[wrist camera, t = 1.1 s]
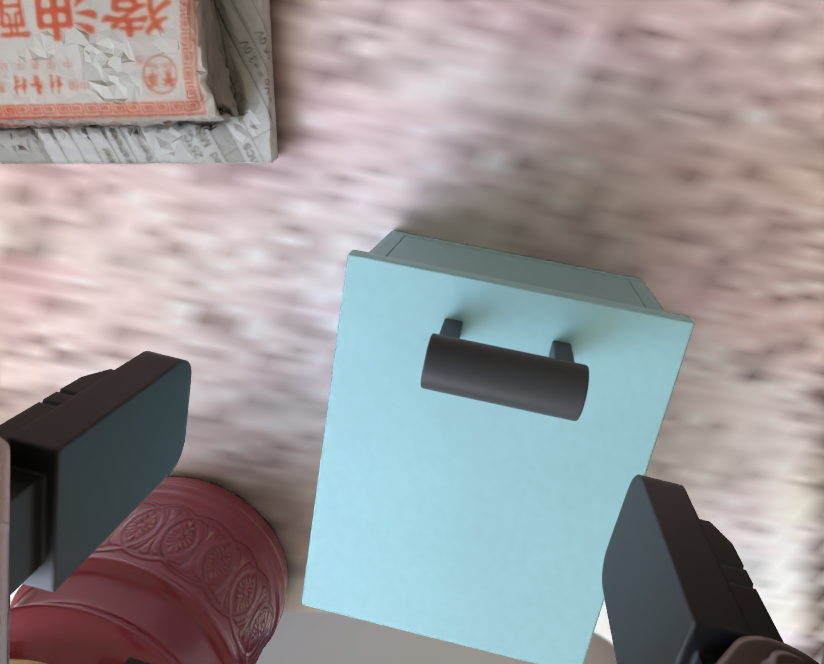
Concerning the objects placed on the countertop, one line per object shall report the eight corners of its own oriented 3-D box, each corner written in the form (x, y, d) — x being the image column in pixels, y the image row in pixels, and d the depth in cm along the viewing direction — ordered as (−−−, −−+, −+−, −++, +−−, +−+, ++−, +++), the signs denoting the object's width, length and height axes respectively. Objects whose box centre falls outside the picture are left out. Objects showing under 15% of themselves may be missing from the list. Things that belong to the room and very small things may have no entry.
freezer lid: (352, 248, 25) (310, 284, 20) (690, 315, 24) (735, 371, 19) (306, 593, 31) (263, 688, 26) (578, 661, 30) (590, 775, 24)
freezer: (392, 229, 34) (350, 269, 25) (642, 278, 33) (683, 336, 24) (351, 490, 39) (306, 592, 31) (565, 540, 38) (578, 660, 30)
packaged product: (-111, 171, 32) (-172, -67, 28) (-32, 163, 36) (-77, -43, 33) (248, 170, 29) (224, -94, 26) (285, 162, 33) (269, -63, 30)
